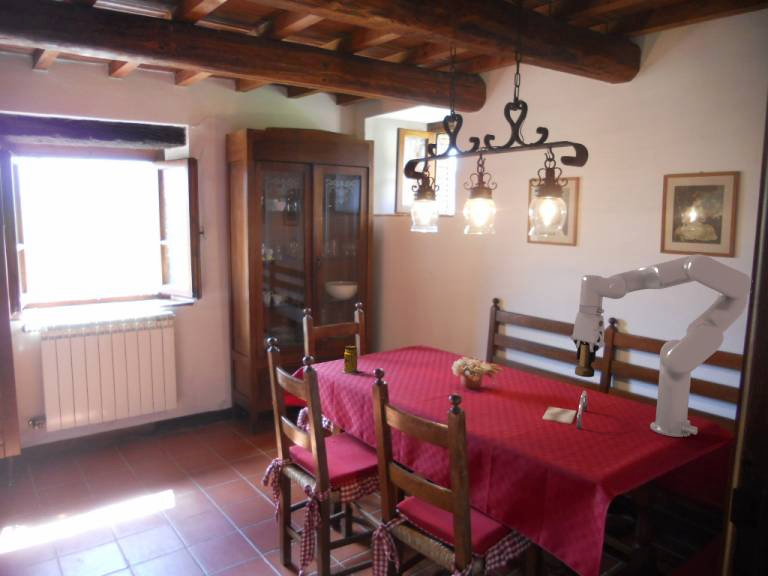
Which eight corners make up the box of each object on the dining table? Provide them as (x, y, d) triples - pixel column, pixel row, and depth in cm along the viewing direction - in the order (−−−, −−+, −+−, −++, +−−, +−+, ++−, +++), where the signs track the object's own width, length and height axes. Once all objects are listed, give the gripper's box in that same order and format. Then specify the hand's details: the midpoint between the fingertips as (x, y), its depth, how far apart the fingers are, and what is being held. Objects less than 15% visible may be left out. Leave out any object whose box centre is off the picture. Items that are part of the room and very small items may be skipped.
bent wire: (586, 410, 218) (588, 386, 217) (580, 429, 198) (582, 402, 197) (583, 410, 218) (584, 385, 217) (576, 428, 199) (577, 401, 198)
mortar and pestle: (571, 374, 206) (575, 324, 204) (579, 371, 211) (584, 322, 209) (589, 378, 202) (593, 327, 199) (597, 375, 206) (601, 325, 204)
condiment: (340, 371, 266) (340, 346, 265) (354, 368, 272) (354, 343, 270) (350, 375, 261) (350, 349, 259) (364, 372, 267) (364, 346, 265)
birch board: (576, 412, 216) (576, 410, 216) (571, 423, 203) (571, 422, 203) (548, 408, 220) (548, 406, 220) (542, 419, 207) (542, 417, 207)
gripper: (617, 313, 199) (612, 365, 201) (577, 306, 212) (573, 354, 215) (604, 314, 194) (599, 367, 197) (564, 307, 208) (559, 356, 210)
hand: (585, 360), depth 206 cm, fingers closed on mortar and pestle, 3 cm apart
